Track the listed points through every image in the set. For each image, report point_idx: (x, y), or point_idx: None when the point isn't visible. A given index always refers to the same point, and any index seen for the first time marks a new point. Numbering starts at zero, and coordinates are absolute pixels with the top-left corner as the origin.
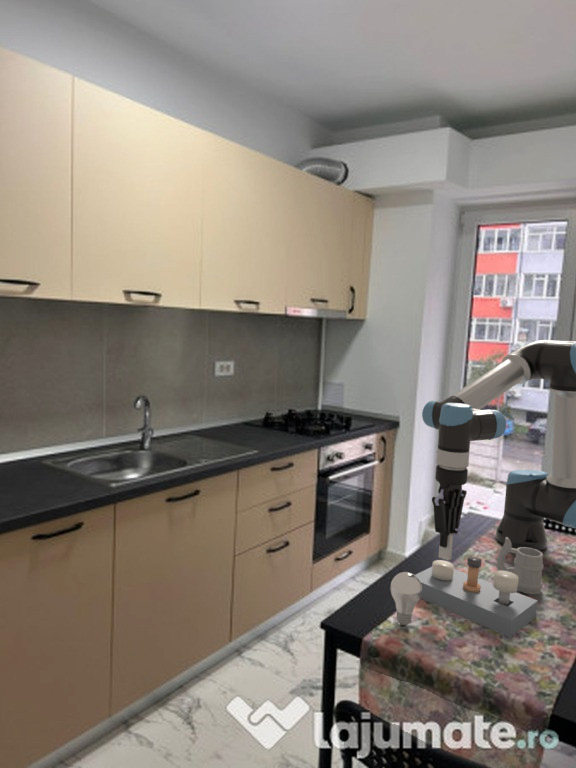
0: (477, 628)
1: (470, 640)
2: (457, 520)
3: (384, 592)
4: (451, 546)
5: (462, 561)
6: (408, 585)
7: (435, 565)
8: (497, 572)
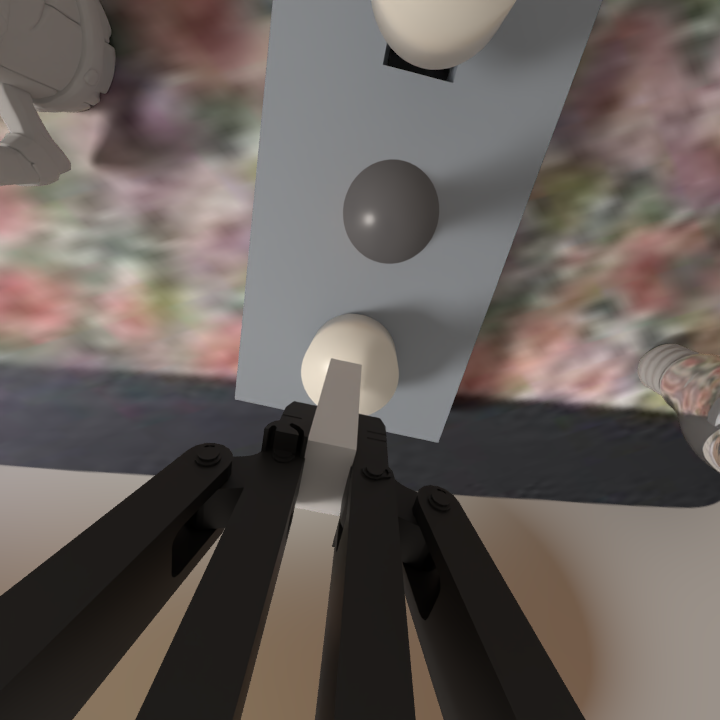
0: (560, 136)
1: (668, 133)
2: (185, 510)
3: (468, 463)
4: (330, 393)
5: (55, 344)
6: None
7: (386, 398)
8: (442, 6)
